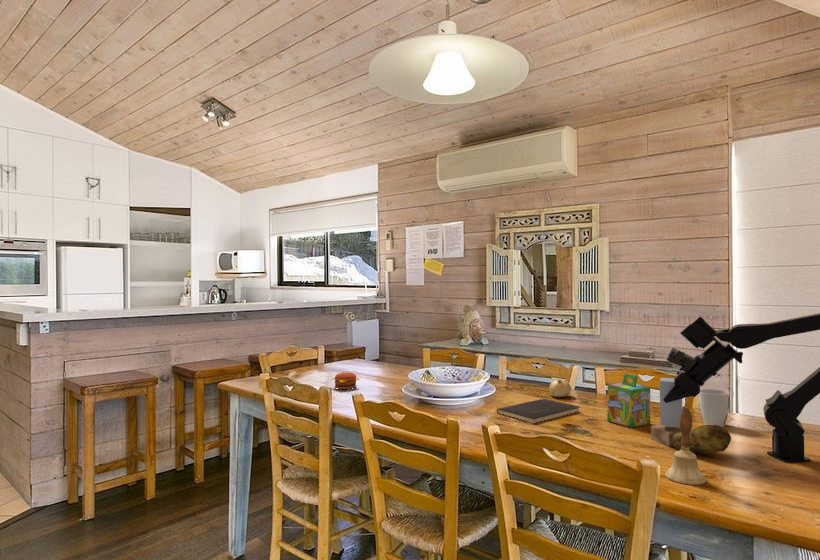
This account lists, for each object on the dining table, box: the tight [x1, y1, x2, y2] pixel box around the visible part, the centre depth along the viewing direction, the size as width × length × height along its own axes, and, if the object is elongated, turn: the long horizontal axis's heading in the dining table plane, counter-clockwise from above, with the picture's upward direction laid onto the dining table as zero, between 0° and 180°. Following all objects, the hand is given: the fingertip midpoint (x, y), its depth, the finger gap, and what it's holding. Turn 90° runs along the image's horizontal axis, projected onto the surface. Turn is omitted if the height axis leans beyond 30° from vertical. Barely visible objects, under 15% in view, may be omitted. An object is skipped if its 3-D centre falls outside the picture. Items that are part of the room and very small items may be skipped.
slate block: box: [659, 377, 683, 427], centre depth 143 cm, size 5×5×12 cm
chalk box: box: [606, 373, 651, 429], centre depth 162 cm, size 9×9×15 cm
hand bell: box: [664, 406, 707, 486], centre depth 118 cm, size 8×8×16 cm
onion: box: [548, 378, 572, 398], centre depth 199 cm, size 8×8×7 cm
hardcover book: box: [496, 398, 581, 424], centre depth 176 cm, size 16×23×2 cm
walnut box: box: [650, 424, 681, 448], centre depth 143 cm, size 7×7×4 cm
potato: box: [672, 424, 732, 455], centre depth 133 cm, size 8×13×8 cm, turn 26°
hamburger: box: [331, 371, 360, 390], centre depth 221 cm, size 9×10×7 cm
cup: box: [698, 388, 731, 428], centre depth 158 cm, size 8×8×10 cm
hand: (665, 399), depth 143 cm, fingers closed on slate block, 5 cm apart
